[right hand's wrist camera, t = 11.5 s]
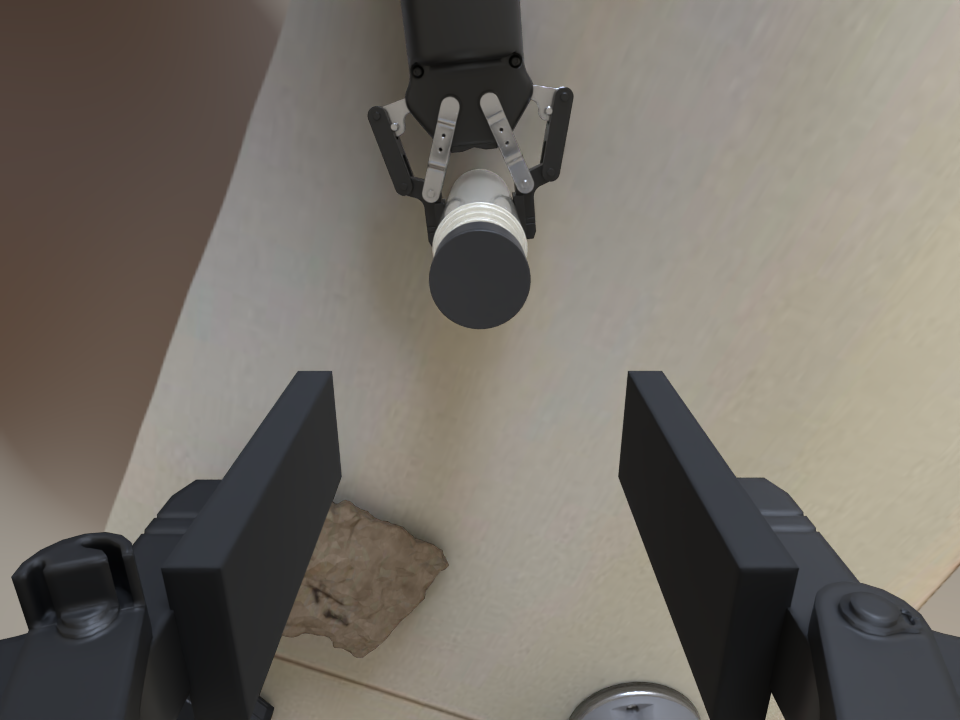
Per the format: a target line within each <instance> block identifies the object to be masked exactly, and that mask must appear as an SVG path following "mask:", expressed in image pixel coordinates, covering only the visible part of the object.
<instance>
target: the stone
mask: <svg viewBox="0 0 960 720" xmlns="http://www.w3.org/2000/svg"><path fill="white" fill-rule="evenodd" d="M448 566H449V564H448V562H447V559H446V558H445V556H444V554H443V551H442V550H441V549H439V548H437V547H436V546H435V545H433V544H430V543H428V542H425V541H422V540H419V539H416V538H414V537H413V536H412V535H411V534H409V533H408V532H407V531H406V530H405V528H404V527H401V526H398V525H395V524H391V523H389V522H388V521H381V520H379V519H377V518H374V517H373V516H372V515H371V514H370V513H369V512H368V511H365V510H362V509H360V508H358V507H356V506H355V505H354V504H353V503H351V502H349V501H347V500H344V501H342V502H340V503H338V504H335V503H333V502H332V504H331V506H330V509H329V512H328V514H327V517H326V520H325V522H324V525H323V528H322V530H321V533H320V535H319V538H318V541H317V543H316V546H315V549H314V551H313V554H312V557H311V559H310V562H309V565H308V567H307V570H306V573H305V575H304V578H303V580H302V583H301V586H300V588H299V591H298V594H297V596H296V599H295V602H294V604H293V607H292V610H291V612H290V615H289V618H288V620H287V623H286V626H285V628H284V631H283V633H282V635H283V636H287V637H296V636H299V635H300V634H304V633H309V634H314V635H320V636H327V637H329V638H330V639H331V640H332V642H333V646H334V648H343V649H345V650H347V651H349V652H350V653H351V654H352V655H353V656H355V657H357V658H362V657H364V656H365V655H367V654H368V653H369V652H371V651H373V650H374V649H376V648H377V647H378V646H379V645H380V644H381V643H382V642H383V641H384V640H385V639H386V638H387V637H388V636H389V635H390V633H391V631H392V630H393V629H394V628H395V627H396V626H397V625H398V624H399V623H400V622H401V620H402V619H404V618H405V617H406V616H407V615H409V614H410V613H411V612H412V611H413V610H414V609H415V607H416V606H417V605H418V604H419V603H420V602H421V601H422V600H424V599H425V593H426V590H427V588H428V587H429V586H430V585H431V583H432V582H433V580H434V579H435V577H436V576H437V575H438V573H439V572H440V571H442V570H445V569H446V568H447V567H448Z"/></svg>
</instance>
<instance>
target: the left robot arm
mask: <svg viewBox="0 0 960 720" xmlns="http://www.w3.org/2000/svg"><path fill="white" fill-rule="evenodd" d="M401 8H402V16H403V24H404V32H405V40H406V47H407V55H408V63H409V71H410V80H409V85H408V89H407V91H406V94H405V98H404V99H401V100H399V101H396V102H394V103H391V104H388V105H386V106H383V107H381V106H375V107H372V108H371V109H370V110H369V112H368V120H369V122H370V125H371V127H372V130H373V132H374V135H375V138H376V140H377V143H378V145H379V148H380V151H381V153H382V156H383V158H384V161H385V164H386V166H387V169H388V171H389V174H390V177H391V179H392V182H393V184H394V187H395V189H396V191H397V193H398V194H400V195H402V196H406V195H407V196H410V197H414V198H417V199H419V200H421V201H422V203H423V204H424V207H425V215H426V223H427V231H428V239H429V243H430V244H431V246H432V245H433V239H434V235H435V232H436V230H437V227H438V224H439V221H440V219H441V216H442V213H443V210H444V208H445V205H446V202H445V199H442V187H443V183H444V179H445V174H446V170H447V166H448V162H449V158H450V154H451V153H455V152H463V151H466V150H468V149H471V148H473V147H476V148H482V149H494V148H497V147H499V149H500V151H501V153H502V156H503V158H504V160H505V162H506V164H507V167H508V169H509V171H510V173H511V176H512V178H513V180H514V185H515V192H512V195H513V202H514V205H515V208H516V211H517V213H518V216H519V219H520V222H521V224H522V227H523V230H524V233H525V236H526V239H533V238H534V235H535V232H536V225H535V210H534V192H535V190H536V189H537V188H538V187H539V186H541V185H543V184H545V183H547V182H549V181H550V182H551V181H555V180H556V179H557V178H558V177H559V174H560V169H561V163H562V158H563V152H564V147H565V141H566V136H567V130H568V125H569V119H570V114H571V108H572V103H573V92H572V91H571V89H569V88H567V87H560V88H551V87H545V86H539V85H533V83H532V80H531V78H530V77H529V75H528V73H527V71H526V69H525V66H524V57H523V42H522V27H521V12H520V0H401ZM530 100H533V101H535V102H536V104H537V106H538V114H539V116H540V118H541V119H543V120H546V121H547V124H546V130H545V136H544V142H543V148H542V154H541V160H540V164H538V165H536V166H534V167H532V168H530V169H528V167H527V165H526V162H525V160H524V158H523V155H522V153H521V150H520V148H519V146H518V143H517V141H516V139H515V136H514V134H513V130H514V128H515V126H516V125H517V123H518V121H519V119H520V118H521V116H522V114H523V112H524V111H525V109H526V107H527V105H528V104H529V102H530ZM408 113H411V114H412V115H413V116H414V117H415V119H416V120H417V121H418V122H419V123H420V124H421V126H422V127H423V128H424V129H425V130H426V131H427V133H428V134H429V135H430V136H431V137H432V138H433V144H432V148H431V153H430V157H429V162H428V168H427V173H426V177H425V179H421V178H417V177H414V175H413V173H412V170H411V167H410V165H409V162H408V159H407V157H406V154H405V151H404V149H403V146H402V143H401V140H400V138H399V136H400V135H402V134H403V133H404V132H405V129H406V125H405V118H406V116H407V114H408ZM506 141H507V142H506Z"/></svg>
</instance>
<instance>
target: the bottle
mask: <svg viewBox="0 0 960 720" xmlns="http://www.w3.org/2000/svg"><path fill="white" fill-rule="evenodd" d="M476 221H483V222H490V223H494V224H497V225H500V226H501V227H503V228H505V229H507V230H508V231H509V232H511V233H512V234H513V235H514V236H515V237H516V239H517V240H518V241H519V243H520V244H521V246H522V248H523V250H524V253H525V256H526V259H527V252H528V249H527V239H526V236H525V233H524V230H523V227H522V224H521V222H520V219H519V216H518V213H517V211H516V208H515V205H514V202H513V199H512V197H511V194H510V191H509V189H508V186H507V184H506V183H505V181H504V180H503V179H502V178H501V177H500V176H499V175H497V174H496V173H494V172H492V171H490V170H486V169H474V170H470V171H468V172H466V173H464V174H462V175H461V176H460V177H459V178H458V179H457V180H456V181H455V183H454V184H453V186H452V188H451V191H450V194H449V197H448V199H447V202H446V205H445V208H444V210H443V213H442V216H441V219H440V221H439V224H438V227H437V230H436V232H435V235H434V239H433V245H432V254H433V258H434V255H435V252H436V249H437V247H438V245H439V244H440V242H441V241H442V239H443V238H444V237H445V236H446V235H447V234H448V233H449V232H450V231H452V230H453V229H455V228H456V227H458V226H460V225H463V224H466V223H469V222H476Z"/></svg>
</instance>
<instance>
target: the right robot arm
mask: <svg viewBox="0 0 960 720" xmlns="http://www.w3.org/2000/svg"><path fill="white" fill-rule="evenodd" d="M341 477H342V475H341V464H340V453H339V442H338V431H337V420H336V410H335V399H334V388H333V377H332V371H298V372H297V373H296V375H295V376H294V378H293V379H292V380H291V382H290V383H289V385H288V386H287V388H286V389H285V390H284V392H283V393H282V395H281V396H280V398H279V399H278V400H277V402H276V403H275V405H274V406H273V408H272V409H271V410H270V412H269V413H268V415H267V416H266V418H265V419H264V420H263V422H262V423H261V425H260V426H259V428H258V429H257V431H256V432H255V433H254V435H253V436H252V438H251V439H250V441H249V442H248V443H247V445H246V446H245V448H244V449H243V451H242V452H241V453H240V455H239V456H238V458H237V459H236V461H235V462H234V463H233V465H232V466H231V468H230V469H229V471H228V472H227V474H226V475H225V476H224V478H223V479H222V480H195V481H194V482H192V483H191V484H189V485H187V486H186V487H184V488H183V489H181V490H180V491H178V492H177V493H175V494H174V495H172V496H171V498H170V499H169V500H168V501H167V503H166V504H165V505H164V506H163V508H162V509H161V510H160V511H159V513H158V514H157V518H154V519H153V520H152V521H151V523H150V524H149V525H148V526H147V528H146V529H145V533H144V534H141V535H140V536H139V538H138V539H137V540H136V541H135V543H134V544H133V545H132V543H131V542H130V541H129V540H128V539H126V538H125V537H124V536H122V535H119V534H113V533H108V532H101V533H89V534H82V535H79V536H75V537H71V538H68V539H64V540H61V541H59V542H57V543H55V544H53V545H50V546H48V547H46V548H44V549H42V550H40V551H38V552H37V553H36V554H34V555H33V556H31V557H30V558H29V559H27V560H26V561H24V562H23V563H22V564H21V565H20V567H19V568H18V569H17V570H16V572H15V573H14V574H13V575H12V577H11V578H12V581H13V584H14V587H15V590H16V593H17V596H18V599H19V602H20V605H21V608H22V611H23V614H24V617H25V620H26V623H27V626H28V629H29V631H28V633H26V634H23V635H19V636H16V637H11V638H7V639H2V640H0V720H177V718H178V716H179V714H180V712H181V710H182V708H183V706H184V704H185V702H186V700H187V698H188V696H190V700H191V705H192V709H193V714H194V718H195V720H250V718H251V716H252V713H253V710H254V708H255V705H256V702H257V700H258V697H259V694H260V692H261V689H262V686H263V684H264V681H265V678H266V676H267V673H268V671H269V668H270V665H271V663H272V660H273V657H274V655H275V652H276V649H277V647H278V644H279V641H280V639H281V636H282V633H283V631H284V628H285V626H286V623H287V620H288V618H289V615H290V612H291V610H292V607H293V604H294V602H295V599H296V596H297V594H298V591H299V588H300V586H301V583H302V580H303V578H304V575H305V573H306V570H307V567H308V565H309V562H310V559H311V557H312V554H313V551H314V549H315V546H316V543H317V541H318V538H319V535H320V533H321V530H322V528H323V525H324V522H325V520H326V517H327V514H328V512H329V509H330V506H331V504H332V501H333V498H334V496H335V493H336V490H337V488H338V485H339V482H340V480H341ZM618 477H619V480H620V482H621V485H622V488H623V490H624V493H625V496H626V498H627V501H628V504H629V506H630V509H631V512H632V514H633V517H634V520H635V522H636V525H637V528H638V530H639V533H640V535H641V538H642V541H643V543H644V546H645V549H646V551H647V554H648V557H649V559H650V562H651V565H652V567H653V570H654V573H655V575H656V578H657V580H658V583H659V586H660V588H661V591H662V594H663V596H664V599H665V602H666V604H667V607H668V610H669V612H670V615H671V618H672V620H673V623H674V626H675V628H676V631H677V633H678V636H679V639H680V641H681V644H682V647H683V649H684V652H685V655H686V657H687V660H688V663H689V665H690V668H691V671H692V673H693V676H694V679H695V681H696V684H697V686H698V689H699V692H700V694H701V697H702V700H703V702H704V705H705V708H706V710H707V713H708V716H709V718H710V720H765V718H766V714H767V709H768V705H769V700H770V696H771V692H772V694H773V696H774V698H775V700H776V702H777V704H778V706H779V708H780V710H781V712H782V714H783V716H784V718H785V720H960V637H956V636H952V635H948V634H943V633H940V632H936V631H933V630H931V628H930V627H929V625H928V624H927V622H926V621H925V619H924V618H923V616H922V615H921V614H920V613H919V612H918V611H916V610H915V609H914V608H913V607H911V606H910V605H909V604H908V603H907V602H905V601H904V600H902V599H900V598H898V597H896V596H895V595H893V594H891V593H889V592H887V591H885V590H883V589H880V588H876V587H873V586H870V585H867V584H863V583H860V582H859V581H858V580H857V578H856V577H855V576H854V575H853V573H852V572H851V571H850V570H849V568H848V567H847V566H846V565H845V563H844V562H843V561H842V560H841V558H840V557H839V556H838V555H837V553H836V552H835V551H834V550H833V549H832V547H831V546H830V545H829V544H828V542H827V541H826V540H825V539H824V537H823V536H822V535H821V534H820V532H816V527H815V526H814V525H813V524H812V522H811V521H810V520H809V519H808V517H807V516H804V515H803V511H802V510H801V509H800V508H799V506H798V505H797V504H796V503H795V501H794V500H793V499H792V498H791V496H790V495H789V494H788V493H787V492H785V491H784V490H782V489H780V488H779V487H777V486H776V485H774V484H773V483H771V482H770V481H768V480H767V479H765V478H736V476H735V475H734V474H733V472H732V471H731V469H730V468H729V466H728V465H727V463H726V462H725V461H724V459H723V458H722V456H721V455H720V453H719V452H718V451H717V449H716V448H715V446H714V445H713V443H712V442H711V441H710V439H709V438H708V436H707V435H706V433H705V432H704V431H703V429H702V428H701V426H700V425H699V423H698V422H697V420H696V419H695V418H694V416H693V415H692V413H691V412H690V410H689V409H688V408H687V406H686V405H685V403H684V402H683V400H682V399H681V398H680V396H679V395H678V393H677V392H676V390H675V389H674V388H673V386H672V385H671V383H670V382H669V380H668V379H667V378H666V376H665V375H664V373H663V372H662V371H628V377H627V388H626V399H625V410H624V420H623V431H622V442H621V453H620V464H619V475H618ZM569 720H701V719H700V716H699V714H698V712H697V710H696V708H695V706H694V705H693V704H692V702H691V701H690V700H689V699H688V698H686V697H685V696H684V695H683V694H681V693H679V692H678V691H676V690H674V689H671V688H669V687H666V686H663V685H659V684H654V683H645V682H633V683H624V684H619V685H615V686H611V687H608V688H605V689H603V690H600V691H598V692H596V693H595V694H593V695H591V696H590V697H588V698H587V699H585V700H584V701H583V702H582V703H581V704H580V705H579V706H578V707H577V708H576V709H575V710H574V712H573V713H572V715H571V717H570V718H569Z"/></svg>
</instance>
